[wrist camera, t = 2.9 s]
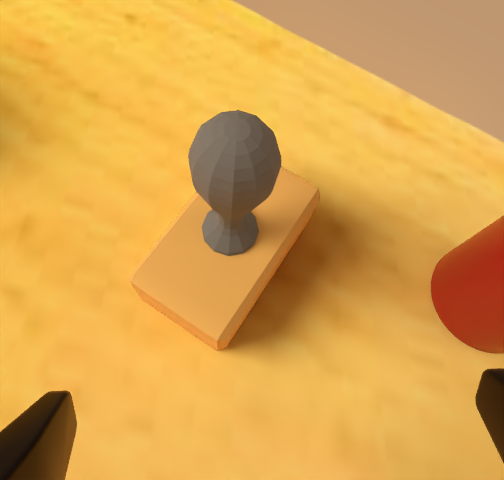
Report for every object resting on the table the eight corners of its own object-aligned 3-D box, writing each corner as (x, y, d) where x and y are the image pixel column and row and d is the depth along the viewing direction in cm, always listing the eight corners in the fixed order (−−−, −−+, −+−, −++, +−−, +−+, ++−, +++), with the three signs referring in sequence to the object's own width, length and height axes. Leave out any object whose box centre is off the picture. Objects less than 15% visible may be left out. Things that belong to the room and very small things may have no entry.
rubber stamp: (234, 173, 27) (246, 7, 16) (310, 218, 26) (379, 77, 15) (137, 296, 23) (63, 194, 12) (222, 354, 22) (225, 301, 11)
